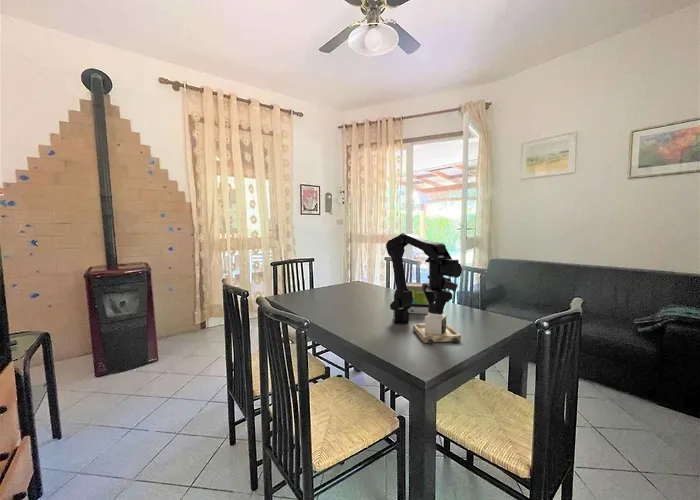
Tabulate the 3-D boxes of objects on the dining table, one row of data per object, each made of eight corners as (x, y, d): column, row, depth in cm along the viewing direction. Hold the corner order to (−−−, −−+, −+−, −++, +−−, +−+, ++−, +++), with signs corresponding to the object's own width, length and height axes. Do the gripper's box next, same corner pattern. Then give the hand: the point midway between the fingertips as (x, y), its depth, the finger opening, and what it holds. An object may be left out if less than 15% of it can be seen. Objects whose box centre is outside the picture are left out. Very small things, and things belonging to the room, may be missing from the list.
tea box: (402, 313, 157) (402, 285, 155) (401, 308, 167) (401, 281, 165) (432, 314, 155) (432, 286, 153) (429, 308, 165) (430, 282, 163)
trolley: (424, 344, 117) (425, 338, 117) (412, 329, 134) (412, 323, 134) (462, 342, 119) (462, 336, 118) (444, 327, 136) (444, 321, 135)
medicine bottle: (441, 336, 122) (442, 307, 120) (424, 333, 125) (424, 305, 124) (446, 331, 128) (446, 303, 126) (429, 328, 131) (429, 301, 130)
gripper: (465, 277, 115) (465, 317, 117) (446, 269, 134) (445, 304, 135) (437, 278, 114) (437, 318, 116) (421, 270, 133) (421, 305, 134)
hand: (435, 311), depth 125 cm, fingers open, 9 cm apart
